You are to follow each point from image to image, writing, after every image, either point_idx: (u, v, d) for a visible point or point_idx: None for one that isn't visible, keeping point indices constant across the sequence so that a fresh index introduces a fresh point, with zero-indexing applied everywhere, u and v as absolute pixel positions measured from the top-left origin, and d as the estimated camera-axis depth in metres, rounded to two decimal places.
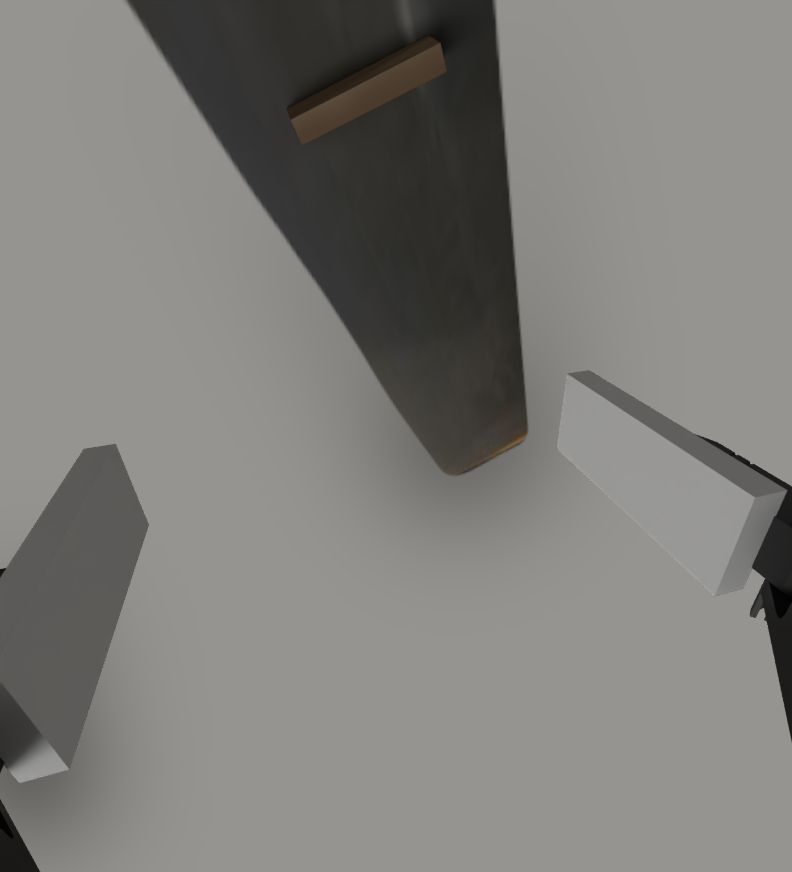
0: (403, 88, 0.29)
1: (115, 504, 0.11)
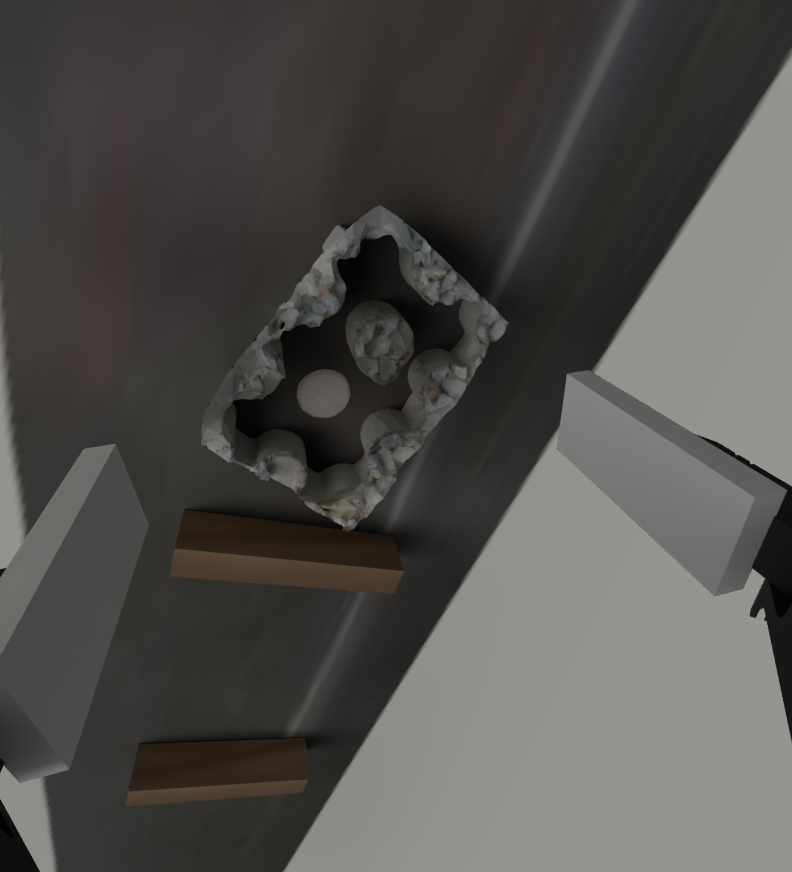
0: (257, 793, 0.29)
1: (115, 504, 0.11)
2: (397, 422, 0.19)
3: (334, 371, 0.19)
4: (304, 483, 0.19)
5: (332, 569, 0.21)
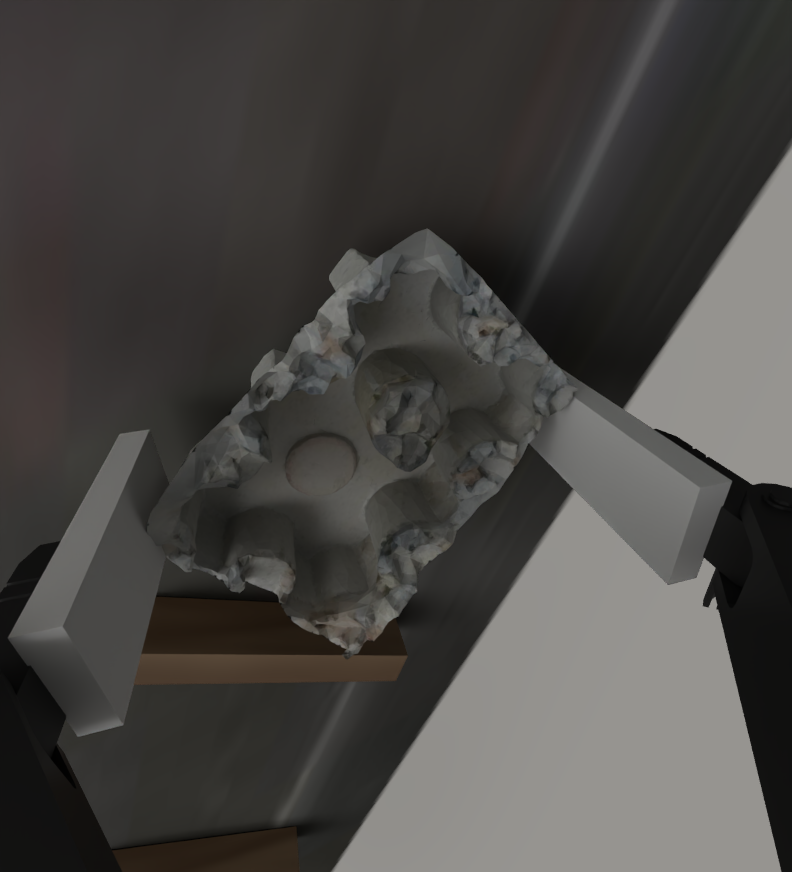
0: None
1: (151, 486, 0.12)
2: (417, 507, 0.15)
3: (336, 439, 0.14)
4: (291, 588, 0.14)
5: (324, 660, 0.18)
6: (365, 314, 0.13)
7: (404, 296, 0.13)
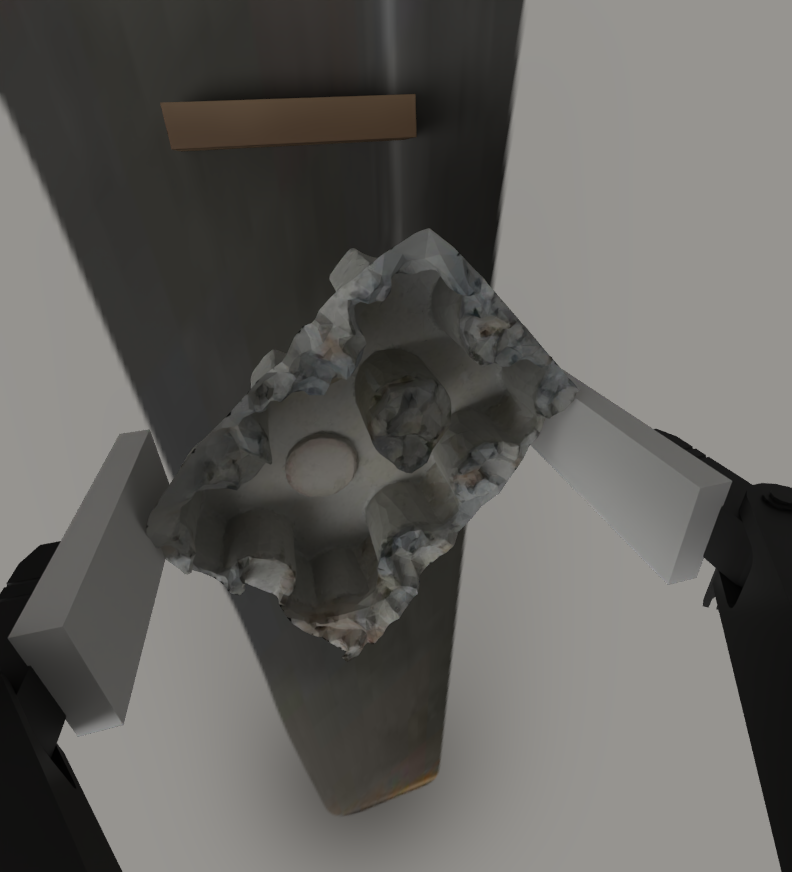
0: None
1: (151, 486, 0.12)
2: (418, 508, 0.15)
3: (337, 440, 0.14)
4: (291, 590, 0.14)
5: (334, 105, 0.19)
6: (365, 314, 0.13)
7: (405, 296, 0.13)
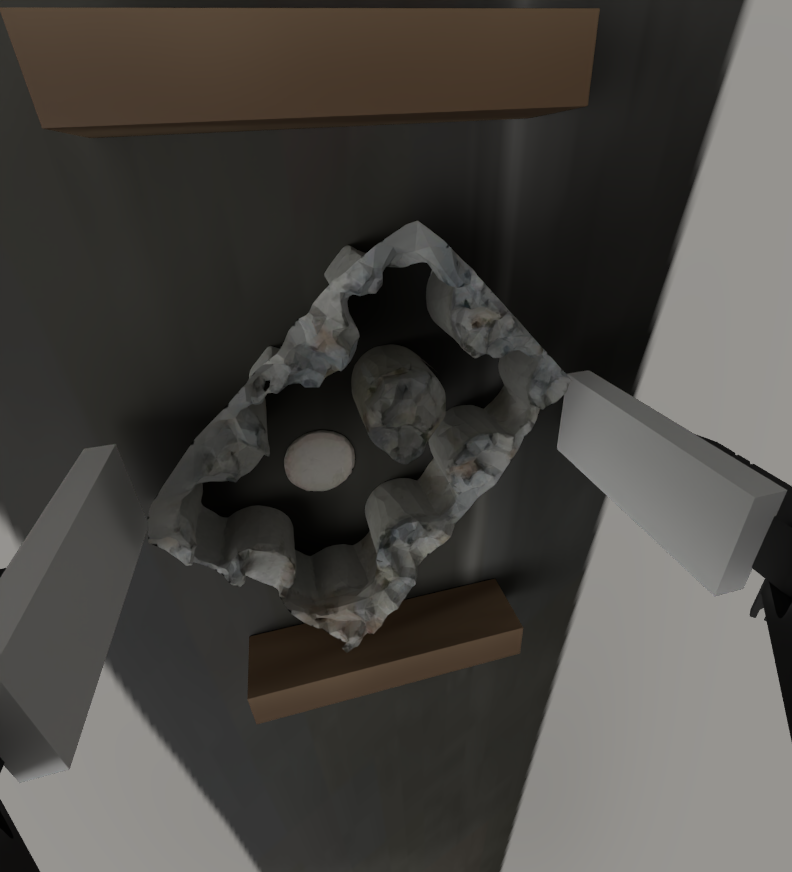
0: (451, 667, 0.18)
1: (115, 504, 0.11)
2: (415, 501, 0.15)
3: (334, 434, 0.15)
4: (291, 582, 0.14)
5: (424, 29, 0.08)
6: None
7: None
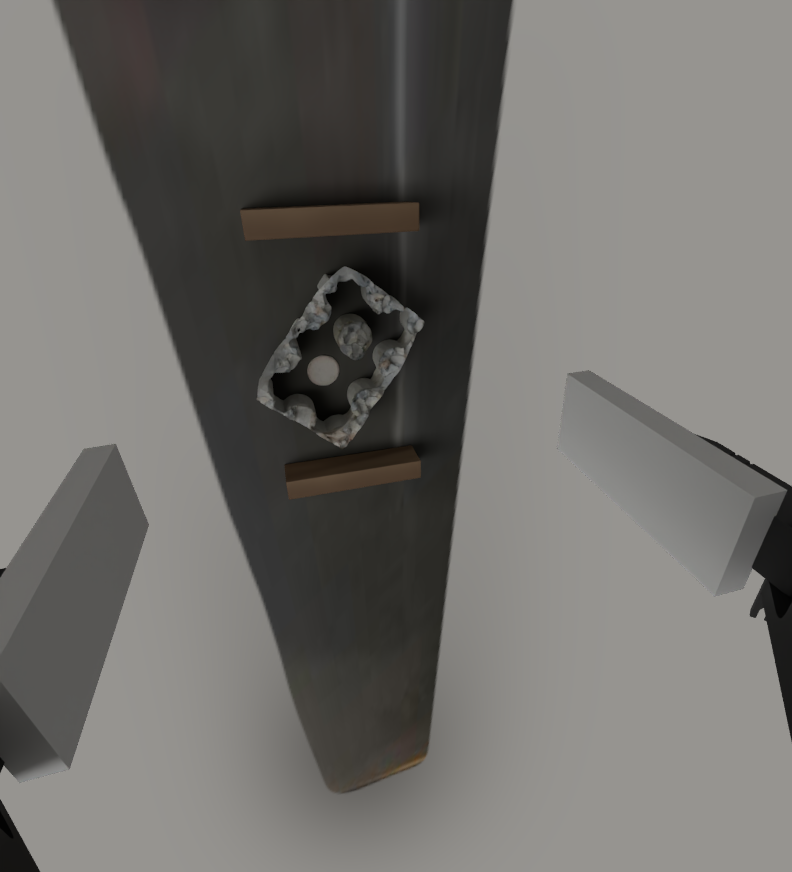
0: (384, 480, 0.36)
1: (115, 504, 0.11)
2: (367, 384, 0.33)
3: (328, 356, 0.33)
4: (315, 423, 0.32)
5: (361, 210, 0.27)
6: None
7: None
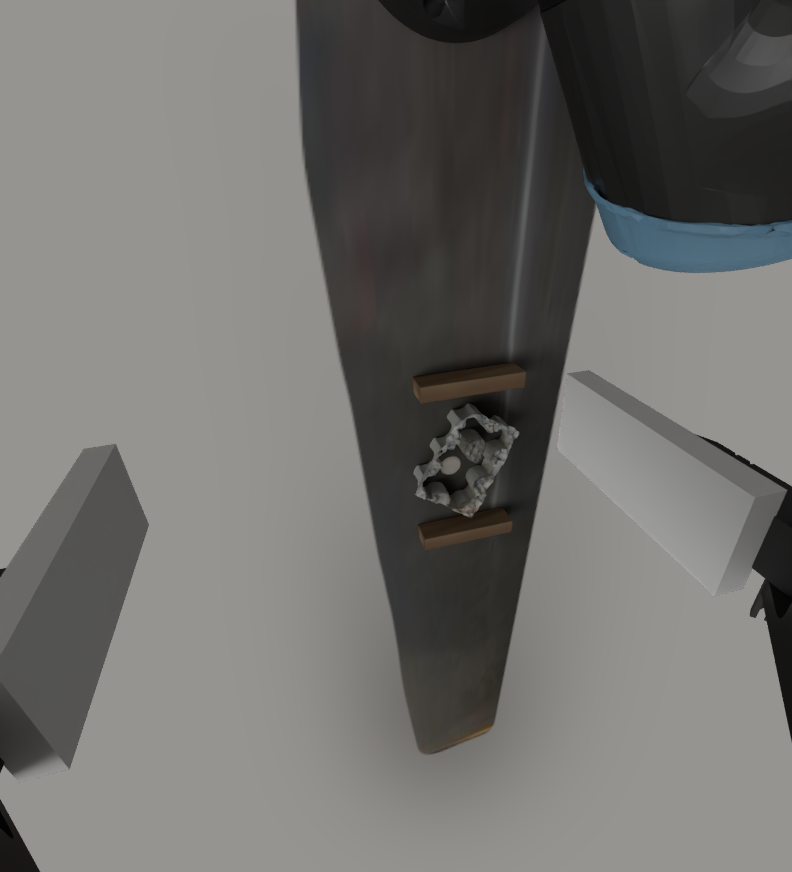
0: (487, 534, 0.52)
1: (115, 504, 0.11)
2: (481, 471, 0.49)
3: (454, 456, 0.48)
4: (449, 502, 0.49)
5: (490, 380, 0.42)
6: None
7: None
